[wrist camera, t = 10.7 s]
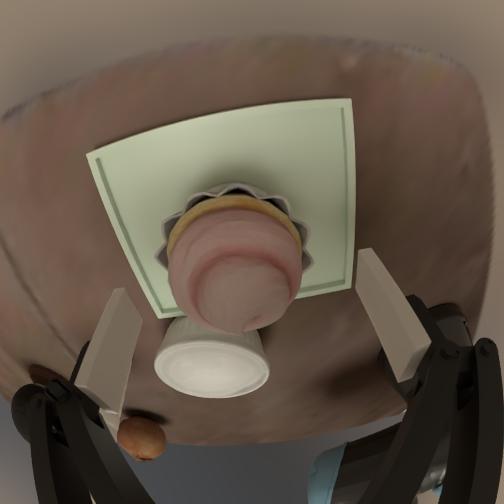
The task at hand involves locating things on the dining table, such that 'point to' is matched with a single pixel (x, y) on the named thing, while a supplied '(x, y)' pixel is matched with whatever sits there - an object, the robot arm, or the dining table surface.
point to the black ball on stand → (24, 396)
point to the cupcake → (234, 257)
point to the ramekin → (210, 361)
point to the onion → (141, 438)
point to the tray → (237, 170)
